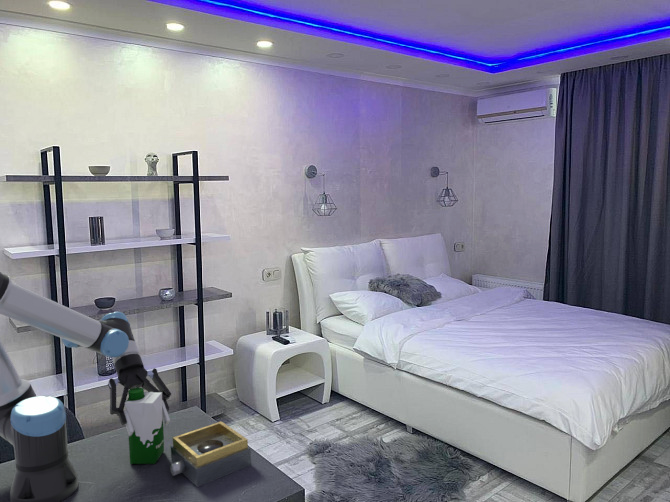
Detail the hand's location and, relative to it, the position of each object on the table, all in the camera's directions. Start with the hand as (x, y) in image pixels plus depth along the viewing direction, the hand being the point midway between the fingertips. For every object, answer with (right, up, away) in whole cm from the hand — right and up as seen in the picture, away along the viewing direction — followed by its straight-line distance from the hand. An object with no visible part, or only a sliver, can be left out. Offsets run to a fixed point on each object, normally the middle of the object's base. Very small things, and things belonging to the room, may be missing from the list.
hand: (149, 428), depth 145 cm
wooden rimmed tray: (+16, -10, -1) cm, 19 cm away
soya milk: (-2, -10, +3) cm, 11 cm away
